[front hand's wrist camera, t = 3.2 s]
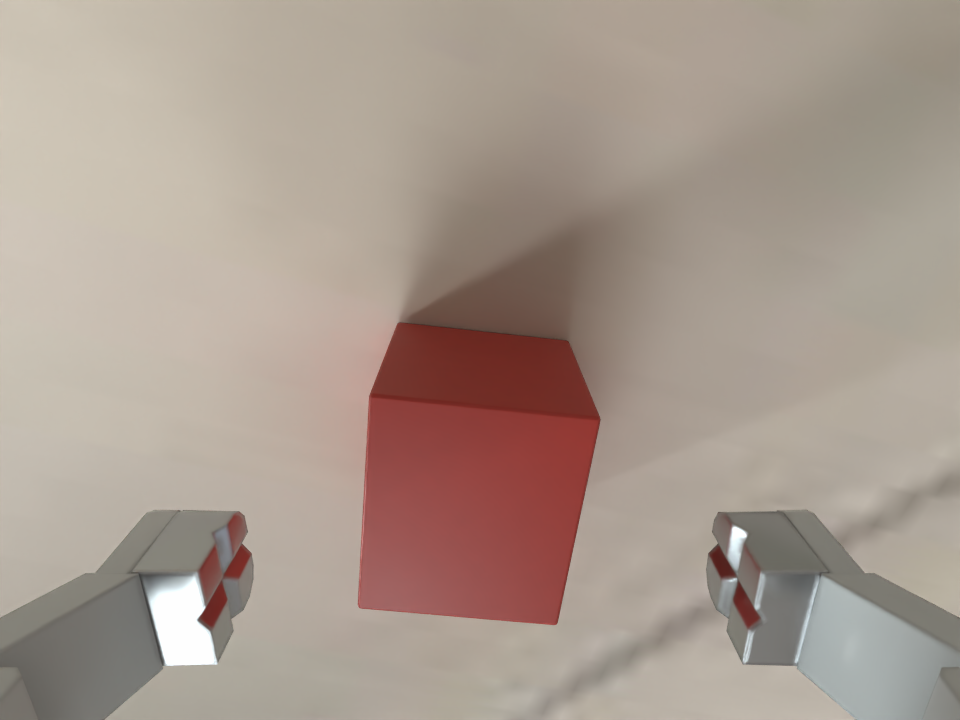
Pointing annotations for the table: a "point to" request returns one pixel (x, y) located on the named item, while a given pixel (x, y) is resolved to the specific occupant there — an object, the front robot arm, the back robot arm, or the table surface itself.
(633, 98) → the table surface
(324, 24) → the table surface
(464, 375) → the block
